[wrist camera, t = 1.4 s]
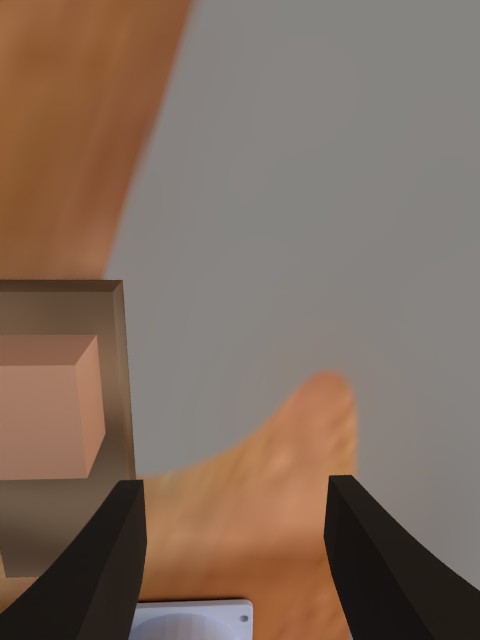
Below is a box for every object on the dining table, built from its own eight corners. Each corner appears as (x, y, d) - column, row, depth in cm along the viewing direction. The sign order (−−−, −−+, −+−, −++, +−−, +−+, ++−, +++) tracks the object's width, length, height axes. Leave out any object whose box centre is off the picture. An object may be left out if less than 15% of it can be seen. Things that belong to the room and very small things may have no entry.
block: (105, 433, 20) (87, 478, 17) (-3, 435, 19) (-41, 481, 16) (96, 334, 18) (75, 365, 15) (-20, 335, 18) (-65, 366, 15)
